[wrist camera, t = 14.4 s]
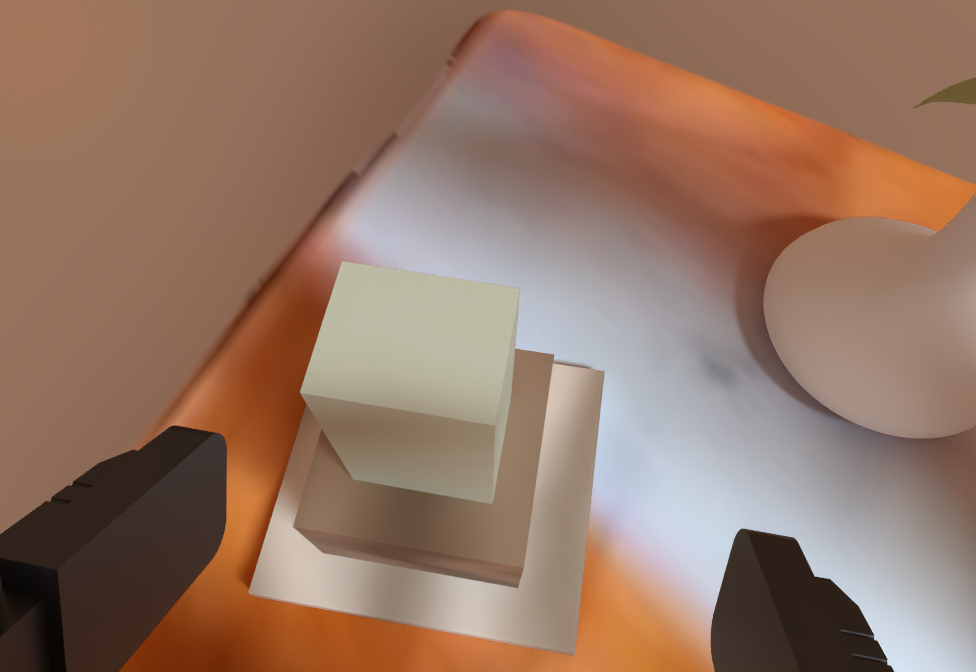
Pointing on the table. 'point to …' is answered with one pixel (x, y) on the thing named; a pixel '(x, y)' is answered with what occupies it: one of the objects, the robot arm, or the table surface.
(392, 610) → the tower base
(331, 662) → the table surface
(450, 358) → the sage brick
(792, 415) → the table surface
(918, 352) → the flower in vase
